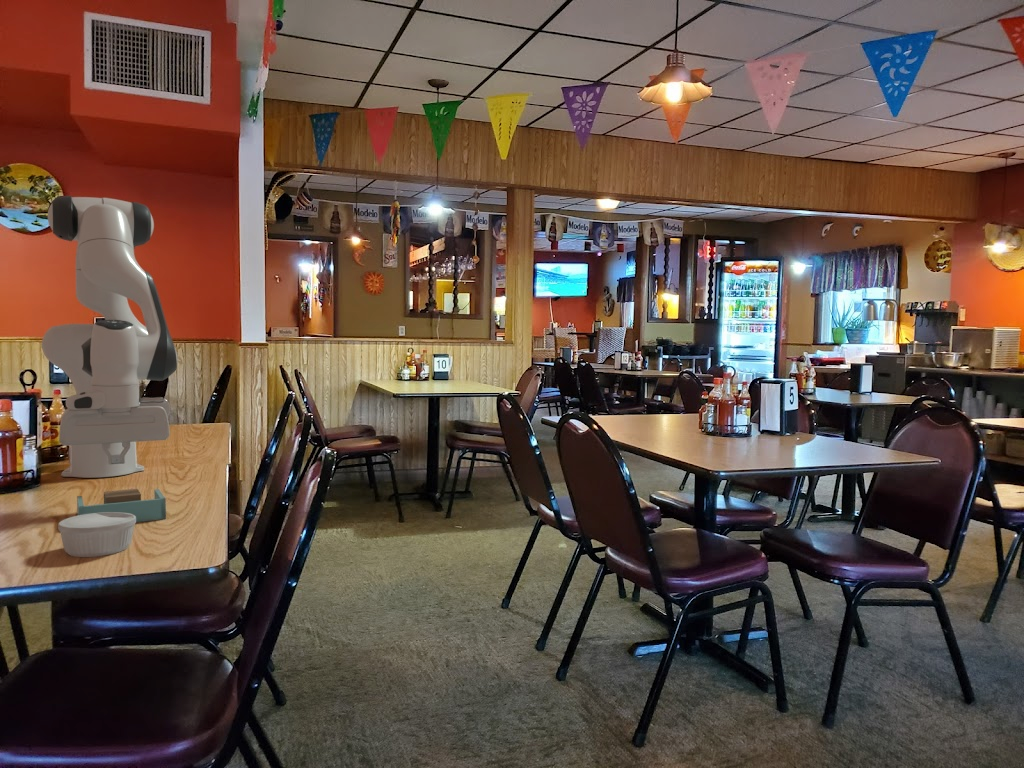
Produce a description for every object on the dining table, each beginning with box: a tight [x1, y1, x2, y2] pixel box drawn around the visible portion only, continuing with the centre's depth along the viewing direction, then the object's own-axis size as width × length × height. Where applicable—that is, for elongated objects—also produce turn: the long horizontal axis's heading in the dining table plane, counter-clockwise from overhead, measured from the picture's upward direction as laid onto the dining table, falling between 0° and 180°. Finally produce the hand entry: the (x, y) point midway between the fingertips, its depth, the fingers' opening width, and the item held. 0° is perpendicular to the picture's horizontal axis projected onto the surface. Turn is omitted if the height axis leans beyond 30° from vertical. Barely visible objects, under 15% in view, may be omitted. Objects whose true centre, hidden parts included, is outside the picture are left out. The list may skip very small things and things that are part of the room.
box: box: [76, 488, 167, 523], centre depth 140 cm, size 11×15×4 cm
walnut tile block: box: [103, 488, 142, 504], centre depth 141 cm, size 6×6×5 cm
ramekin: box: [57, 512, 137, 558], centre depth 119 cm, size 11×11×5 cm
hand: (116, 463), depth 149 cm, fingers closed
